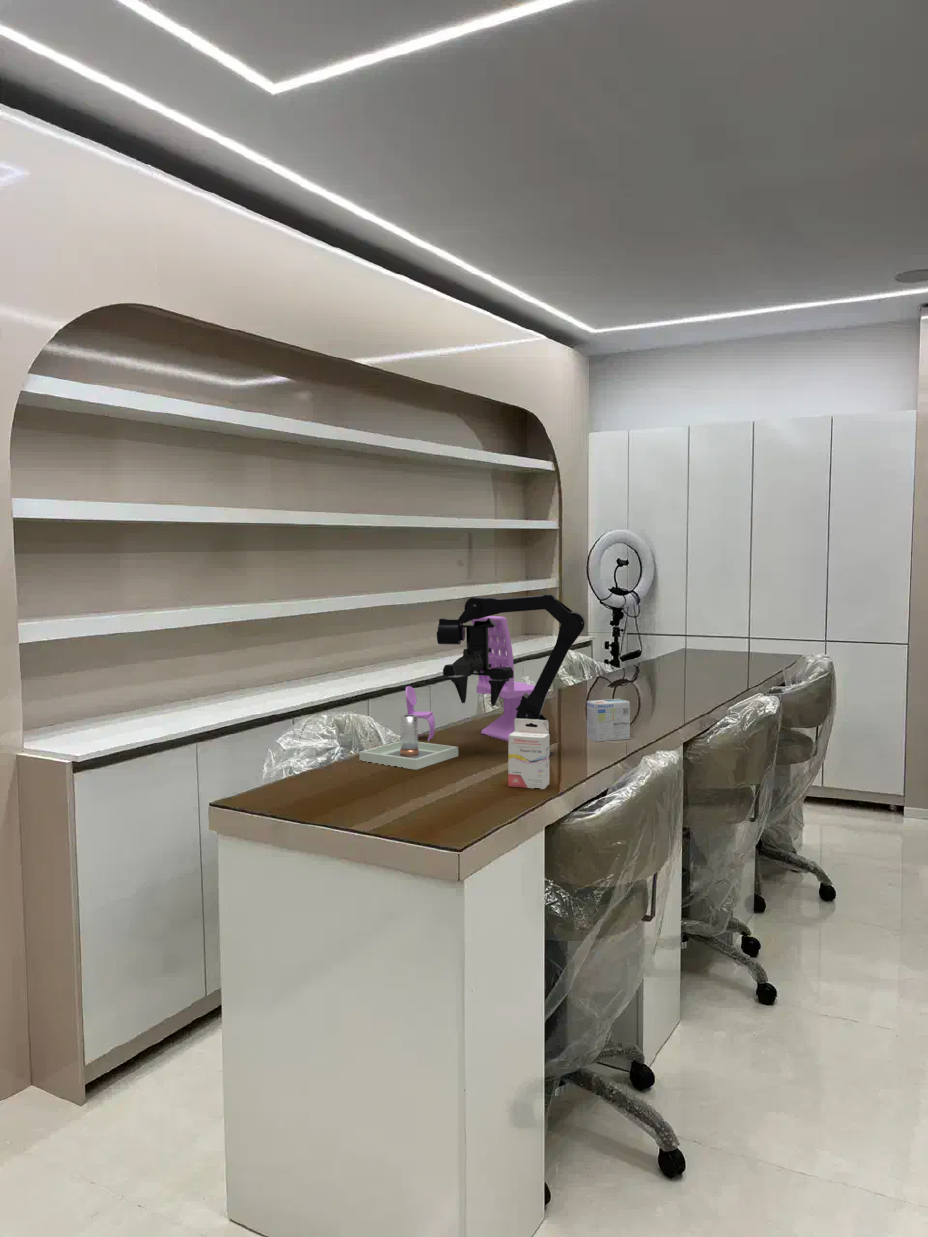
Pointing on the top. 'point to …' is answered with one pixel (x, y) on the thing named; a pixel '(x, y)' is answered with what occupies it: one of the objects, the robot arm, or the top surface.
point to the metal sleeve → (409, 735)
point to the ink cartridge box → (529, 754)
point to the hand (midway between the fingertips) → (478, 704)
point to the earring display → (511, 689)
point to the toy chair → (425, 715)
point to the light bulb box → (608, 720)
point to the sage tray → (392, 757)
